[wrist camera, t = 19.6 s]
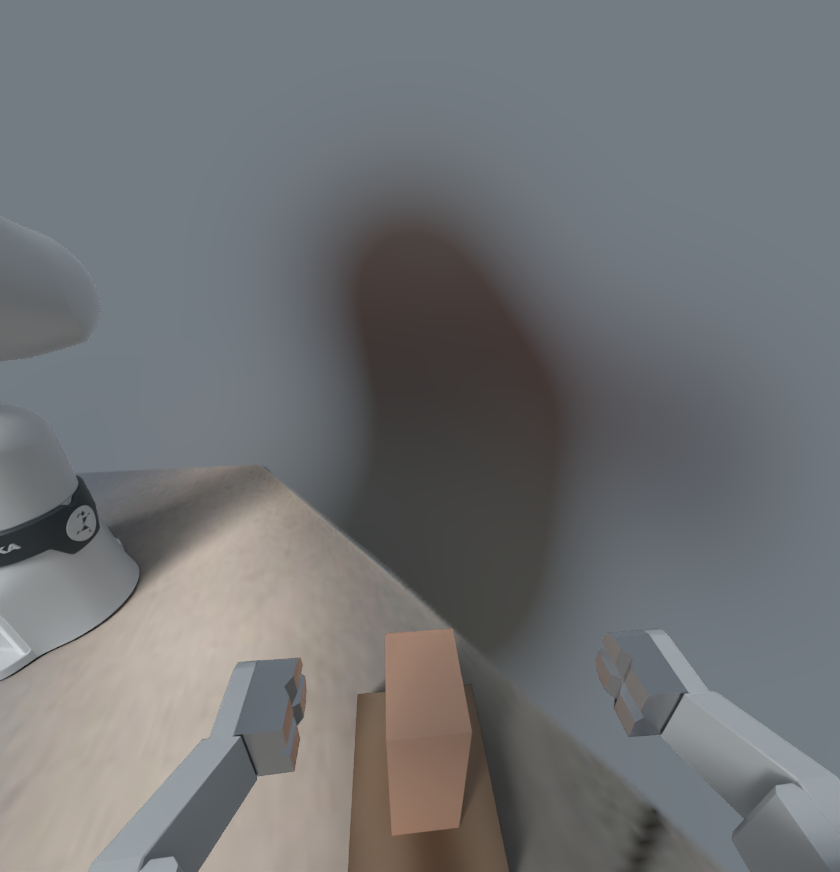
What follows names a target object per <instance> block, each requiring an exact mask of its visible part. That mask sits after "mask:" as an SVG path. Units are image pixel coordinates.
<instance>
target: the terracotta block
mask: <svg viewBox="0 0 840 872" xmlns="http://www.w3.org/2000/svg"><path fill="white" fill-rule="evenodd" d="M385 678H386V749H387V765H388V782H389V798H390V815H391V831H392V836H394V835H402V834H410V833H419V832H427V831H435V830H443V829H452V828H459V825H460V817H461V810H462V802H463V795H464V788H465V780H466V773H467V765H468V758H469V751H470V743H471V736H472V729H471V724H470V718H469V713H468V708H467V702H466V697H465V691H464V686H463V680H462V675H461V670H460V664H459V659H458V653H457V648H456V642H455V637H454V632H453V628H452V629H439V630H426V631H413V632H400V633H387V634H385Z"/></svg>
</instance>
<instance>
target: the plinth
mask: <svg viewBox="0 0 840 872" xmlns="http://www.w3.org/2000/svg"><path fill="white" fill-rule="evenodd" d="M463 686H464V691H465V697H466V702H467V708H468V713H469V718H470V724H471V729H472V736H471V743H470V751H469V758H468V765H467V773H466V780H465V788H464V795H463V802H462V810H461V817H460V825H459V828H452V829H443V830H435V831H427V832H419V833H410V834H402V835H394V836H392V831H391V815H390V798H389V782H388V765H387V749H386V692H377V693H365V694H358V699H357V717H356V735H355V754H354V772H353V790H352V808H351V826H350V845H349V863H348V872H509V868H508V863H507V858H506V853H505V848H504V843H503V838H502V833H501V828H500V824H499V819H498V814H497V809H496V804H495V799H494V794H493V789H492V784H491V779H490V774H489V769H488V764H487V759H486V754H485V749H484V744H483V739H482V734H481V729H480V724H479V719H478V714H477V709H476V705H475V700H474V695H473V690H472V685H471V684H468V685H463Z"/></svg>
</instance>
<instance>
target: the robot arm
mask: <svg viewBox="0 0 840 872" xmlns="http://www.w3.org/2000/svg"><path fill="white" fill-rule="evenodd" d="M100 312H101V311H100V299H99V294H98V291H97V288H96V286H95V284H94V281H93V280H92V278H91V276H90V275H89V273H88V271H87V270H86V269H85V267H84V266H83V265H82V264H81V263H80V262H79V260H78V259H77V258H76V257H75V256H74V255H73V254H72V253H70V252H69V251H68V250H67V249H65V247H63V246H62V245H60V244H59V243H58V242H56V241H55V240H53V239H52V238H50V237H48V236H47V235H45V234H42V233H39V232H37V231H34V230H31V229H29V228H26V227H24V226H22V225H19V224H17V223H15V222H12V221H11V220H8V219H7V218H5V217H3V216H0V362H1V361H8V360H18V359H27V358H32V357H35V356H39V355H43V354H47V353H51V352H54V351H58V350H62V349H65V348H68V347H71V346H75V345H78V344H81V343H85V342H87V341H88V340H89V339H90V338H91V336H92V335H93V333H94V332H95V330H96V328H97V325H98V322H99V319H100ZM89 491H90V490H89V488H88V486H87V485H85V483H84V481H83V479H82V478H81V477H79V476H77V475H75V473H74V471H73V469H72V467H71V465H70V463H69V461H68V459H67V457H66V455H65V452H64V450H63V448H62V446H61V444H60V442H59V440H58V438H57V436H56V434H55V432H54V430H53V428H52V426H51V424H49V422H48V421H47V420H45V419H44V418H43V417H42V416H40V415H39V414H37V413H35V412H33V411H31V410H29V409H27V408H24V407H22V406H19V405H15V404H11V403H7V402H1V401H0V680H2V679H4V678H6V677H8V676H9V675H11V674H13V673H14V672H16V671H18V670H19V669H21V668H22V667H24V666H25V665H27V664H28V663H30V662H31V661H32V660H34V659H35V658H37V657H38V656H40V655H42V654H44V653H46V652H48V651H50V650H52V649H54V648H57V647H59V646H61V645H63V644H65V643H67V642H69V641H71V640H73V639H75V638H77V637H79V636H81V635H82V634H84V633H86V632H88V631H89V630H91V629H92V628H94V627H95V626H97V625H98V624H100V623H101V622H102V621H104V620H105V619H106V618H108V617H109V616H110V615H111V614H112V613H113V612H115V611H116V610H117V609H118V608H119V607H120V606H121V605H122V604H123V603H124V602H125V600H126V599H127V598H128V597H129V596H130V594H131V593H132V591H133V590H134V588H135V586H136V584H137V581H138V578H139V567H138V565H137V563H136V562H135V561H134V560H133V559H132V558H131V557H130V556H129V555H128V554H127V553H126V552H125V551H124V547H123V544H122V543H121V541H120V540H119V539H118V538H114V536H113V535H112V533H111V532H110V531H109V529H108V528H107V526H106V525H105V523H104V522H103V520H102V519H101V517H100V516H99V514H98V513H97V510H96V505H95V502H94V500H93V498H92V496H91V494H90V492H89ZM602 643H603V644H604V647H603V648H602V649H601V650H600V651H598V654H597V657H596V667H597V672H598V675H599V679H600V681H601V683H602V685H603V687H604V689H605V690H606V691H607V692H608V693H609V694H611V695H612V696H613V697H614V698H615V703H614V709H615V711H616V713H617V715H618V717H619V719H620V721H621V723H622V725H623V727H624V729H625V731H626V733H627V735H628V737H633V736H634V737H635V736H649V735H661V738H662V739H663V740H664V741H665V742H666V743H667V744H668V745H669V746H671V748H672V749H673V750H675V751H676V752H677V753H678V754H679V755H680V756H681V757H682V758H683V759H684V760H685V761H686V762H687V763H688V764H689V765H690V766H691V767H692V768H693V769H694V770H695V771H696V772H697V773H698V774H699V775H700V776H701V777H702V778H703V779H704V780H705V781H706V782H707V783H708V784H710V786H711V787H712V788H713V789H714V790H715V791H716V792H718V794H720V795H721V796H722V797H723V798H724V799H725V800H726V801H727V802H728V803H729V804H730V805H731V806H732V807H733V808H734V809H735V810H736V811H737V812H738V813H739V814H740V815H741V816H742V817H743V818H744V820H743V821H742V823H741V824H740V825H739V826H738V827H737V828H736V829H735V830H734V831H733V835H732V841H733V843H734V845H735V846H736V848H737V850H738V851H739V853H740V855H741V856H742V858H743V860H744V862H745V864H746V865H747V867H748V869H749V870H750V872H840V780H839V779H838V777H837V776H835V775H834V774H833V773H831V772H829V771H828V770H827V769H825V768H824V767H822V766H821V765H819V764H818V763H817V762H815V761H814V760H813V759H811V758H810V757H808V756H807V755H805V754H804V753H803V752H801V751H800V750H798V749H797V748H796V747H794V746H792V745H791V744H789V743H788V742H787V741H786V740H784V739H783V738H781V737H780V736H778V735H777V734H776V733H774V732H773V731H771V730H770V729H768V728H767V727H765V726H764V725H763V724H761V723H760V722H759V721H757V720H756V719H754V718H753V717H751V716H750V715H749V714H747V713H746V712H744V711H743V710H741V709H740V708H739V707H737V706H736V705H734V704H733V703H731V702H730V701H729V700H727V699H726V698H724V697H723V696H721V695H720V694H719V693H717V692H716V691H709V690H708V688H707V687H706V686H705V684H704V683H703V682H702V680H701V679H700V678H699V676H698V675H697V674H696V672H695V671H694V670H693V668H692V667H691V665H690V664H689V663H688V661H687V660H686V659H685V657H684V656H683V655H682V653H681V652H680V651H679V650H678V648H677V647H676V645H675V644H674V643H673V641H672V640H671V638H670V637H669V636H668V634H667V633H666V632H664V631H663V630H662V629H648V630H632V631H622V632H612V633H607V634H605V635H604V637H603V639H602ZM301 671H302V662H301V658H288V659H275V660H262V661H261V660H257V661H246V662H238V663H237V665H236V666H235V668H234V670H233V672H232V675H231V678H230V680H229V683H228V686H227V689H226V692H225V694H224V697H223V700H222V703H221V706H220V709H219V711H218V714H217V717H216V720H215V723H214V726H213V728H212V731H211V734H210V737H209V739H202V740H201V741H200V743H199V744H198V745H197V746H196V747H195V748H194V749H193V750H192V752H191V753H190V754H189V755H188V756H187V757H186V758H185V759H184V761H183V762H182V763H181V764H180V765H179V766H178V767H177V768H176V770H175V771H174V772H173V773H172V774H171V775H170V776H169V777H168V779H167V780H166V781H165V782H164V783H163V784H162V785H161V786H160V788H159V789H158V790H157V791H156V792H155V793H154V794H153V795H152V796H151V798H150V799H149V800H148V801H147V802H146V803H145V804H144V805H143V807H142V808H141V809H140V810H139V811H138V812H137V813H136V814H135V816H134V817H133V818H132V819H131V820H130V821H129V822H128V823H127V825H126V826H125V827H124V828H123V829H122V830H121V831H120V832H119V834H118V835H117V836H116V837H115V838H114V839H113V840H112V841H111V843H110V844H109V845H108V846H107V847H106V848H105V849H104V850H103V852H102V853H101V854H100V855H99V856H98V857H97V858H96V859H95V860H94V862H93V863H92V864H91V867H90V869H89V871H88V872H198V871H199V869H200V868H201V866H202V865H203V863H204V862H205V860H206V858H207V857H208V855H209V854H210V852H211V851H212V849H213V848H214V846H215V844H216V843H217V841H218V840H219V838H220V837H221V835H222V833H223V832H224V830H225V829H226V827H227V826H228V824H229V823H230V821H231V819H232V818H233V816H234V815H235V813H236V812H237V810H238V809H239V807H240V805H241V804H242V802H243V801H244V799H245V798H246V796H247V795H248V793H249V791H250V790H251V788H252V787H253V785H254V784H255V782H256V781H257V776H264V775H272V774H279V773H287V772H294V770H295V764H296V758H297V753H298V747H299V741H300V736H299V732H298V728H297V725H298V724H299V723H300V721H301V720H302V719H303V717H304V711H305V704H306V680H305V676H304V675H302V674H301Z"/></svg>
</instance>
